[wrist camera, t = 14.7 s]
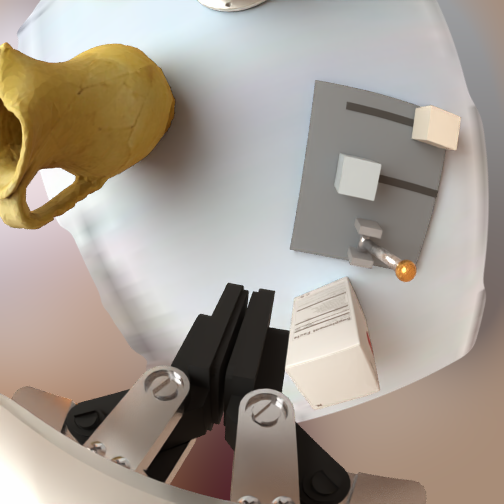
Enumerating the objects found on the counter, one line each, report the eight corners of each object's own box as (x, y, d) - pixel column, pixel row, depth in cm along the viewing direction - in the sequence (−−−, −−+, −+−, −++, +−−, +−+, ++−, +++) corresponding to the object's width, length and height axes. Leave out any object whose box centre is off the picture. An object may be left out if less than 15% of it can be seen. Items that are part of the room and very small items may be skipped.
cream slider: (415, 108, 27) (431, 105, 22) (442, 118, 26) (460, 117, 22) (411, 138, 28) (426, 139, 24) (438, 147, 28) (456, 150, 23)
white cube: (339, 153, 31) (344, 155, 27) (371, 160, 31) (381, 164, 26) (334, 185, 33) (338, 193, 28) (365, 191, 32) (373, 200, 28)
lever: (356, 231, 33) (410, 266, 25) (369, 231, 34) (423, 265, 26) (351, 248, 34) (403, 287, 26) (365, 248, 35) (415, 284, 27)
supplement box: (367, 320, 41) (382, 393, 28) (316, 338, 44) (312, 412, 31) (348, 273, 39) (362, 343, 25) (292, 296, 42) (281, 369, 29)
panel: (315, 82, 30) (316, 74, 25) (445, 118, 27) (462, 117, 23) (290, 245, 39) (287, 260, 34) (410, 268, 37) (420, 285, 32)
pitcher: (215, 82, 32) (57, 47, 10) (152, 193, 40) (14, 268, 18) (129, 40, 31) (-12, 19, 9) (83, 140, 39) (-44, 177, 17)
